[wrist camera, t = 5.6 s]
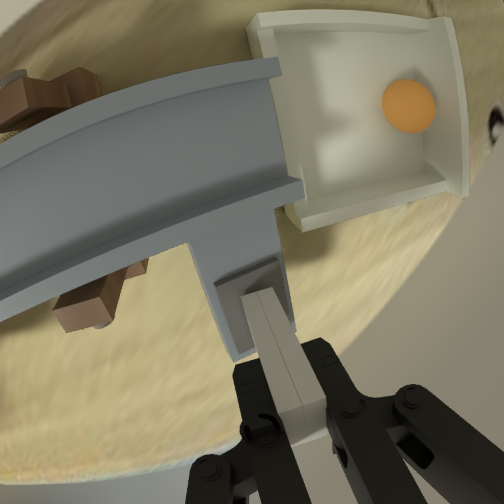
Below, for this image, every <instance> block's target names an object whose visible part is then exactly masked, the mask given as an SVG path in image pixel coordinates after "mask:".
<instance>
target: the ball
mask: <svg viewBox="0 0 504 504" xmlns="http://www.w3.org/2000/svg"><path fill="white" fill-rule="evenodd" d="M382 110H383V113H384V115H385V117H386V119H387V120H388V122H389V123H390V124H391V125H392V126H393V127H395V128H396V129H398V130H400V131H402V132H405V133H418V132H422V131H423V130H425V129H426V128H428V127H429V126H430V124H431V123H432V121H433V119H434V117H435V103H434V99H433V97H432V95H431V93H430V92H429V91H428V90H427V88H426V87H424V86H423V85H422V84H420V83H418V82H416V81H414V80H410V79H401V80H397V81H395V82H393V83H391V84H390V85H389V86H388V87H387V88H386V89H385V91H384V93H383V96H382Z"/></svg>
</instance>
